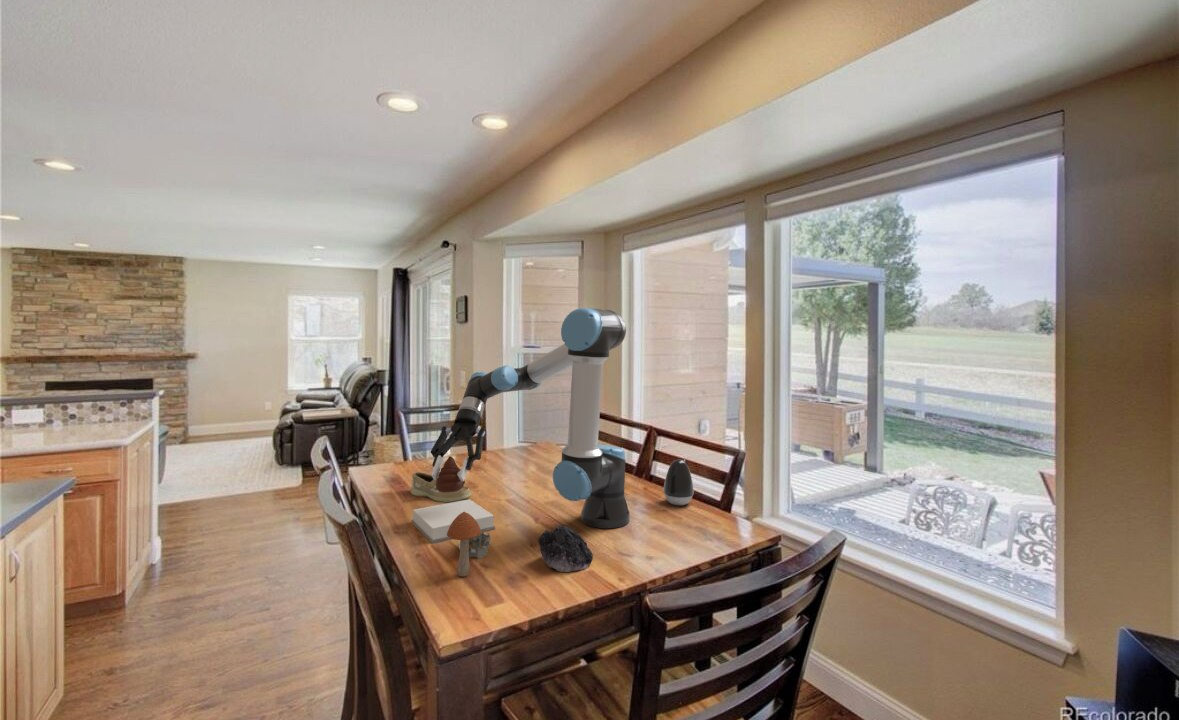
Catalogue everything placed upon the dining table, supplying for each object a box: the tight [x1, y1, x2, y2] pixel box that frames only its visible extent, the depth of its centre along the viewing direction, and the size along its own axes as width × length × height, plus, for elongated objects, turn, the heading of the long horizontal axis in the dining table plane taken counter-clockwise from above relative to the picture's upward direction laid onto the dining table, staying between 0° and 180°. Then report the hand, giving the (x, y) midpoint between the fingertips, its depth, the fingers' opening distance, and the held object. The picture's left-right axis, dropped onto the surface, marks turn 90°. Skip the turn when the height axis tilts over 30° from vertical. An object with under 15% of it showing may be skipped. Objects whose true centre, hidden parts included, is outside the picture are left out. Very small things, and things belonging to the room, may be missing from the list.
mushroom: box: [447, 512, 482, 578], centre depth 121 cm, size 8×8×15 cm
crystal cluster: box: [538, 525, 594, 573], centre depth 129 cm, size 13×14×10 cm
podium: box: [411, 498, 496, 544], centre depth 152 cm, size 19×19×4 cm
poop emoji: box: [436, 456, 466, 493], centre depth 151 cm, size 10×8×9 cm
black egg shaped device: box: [663, 458, 694, 506], centre depth 176 cm, size 10×10×15 cm
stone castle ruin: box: [457, 532, 491, 559], centre depth 135 cm, size 11×8×4 cm
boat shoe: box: [410, 471, 472, 503], centre depth 179 cm, size 25×9×8 cm, turn 64°
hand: (447, 478), depth 148 cm, fingers closed on poop emoji, 8 cm apart
